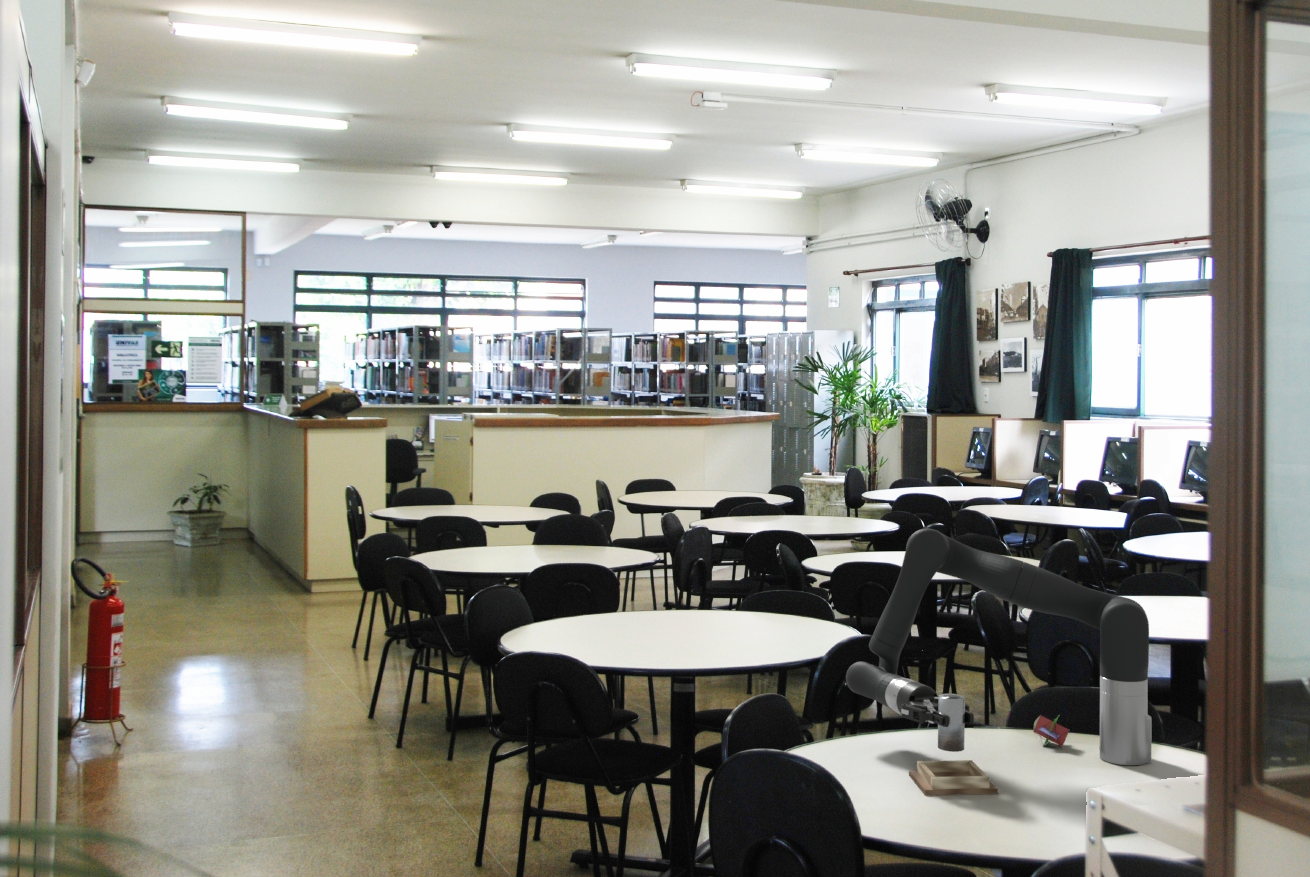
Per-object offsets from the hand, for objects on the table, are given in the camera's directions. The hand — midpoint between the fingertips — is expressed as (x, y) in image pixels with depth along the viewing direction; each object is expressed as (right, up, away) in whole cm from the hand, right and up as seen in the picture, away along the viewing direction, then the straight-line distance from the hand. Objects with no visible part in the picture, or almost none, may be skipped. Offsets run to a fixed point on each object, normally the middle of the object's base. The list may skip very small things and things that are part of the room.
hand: (959, 720), depth 226 cm
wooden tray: (-1, -13, +3) cm, 13 cm away
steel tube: (-1, -6, +3) cm, 7 cm away
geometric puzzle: (+27, -13, +29) cm, 42 cm away
